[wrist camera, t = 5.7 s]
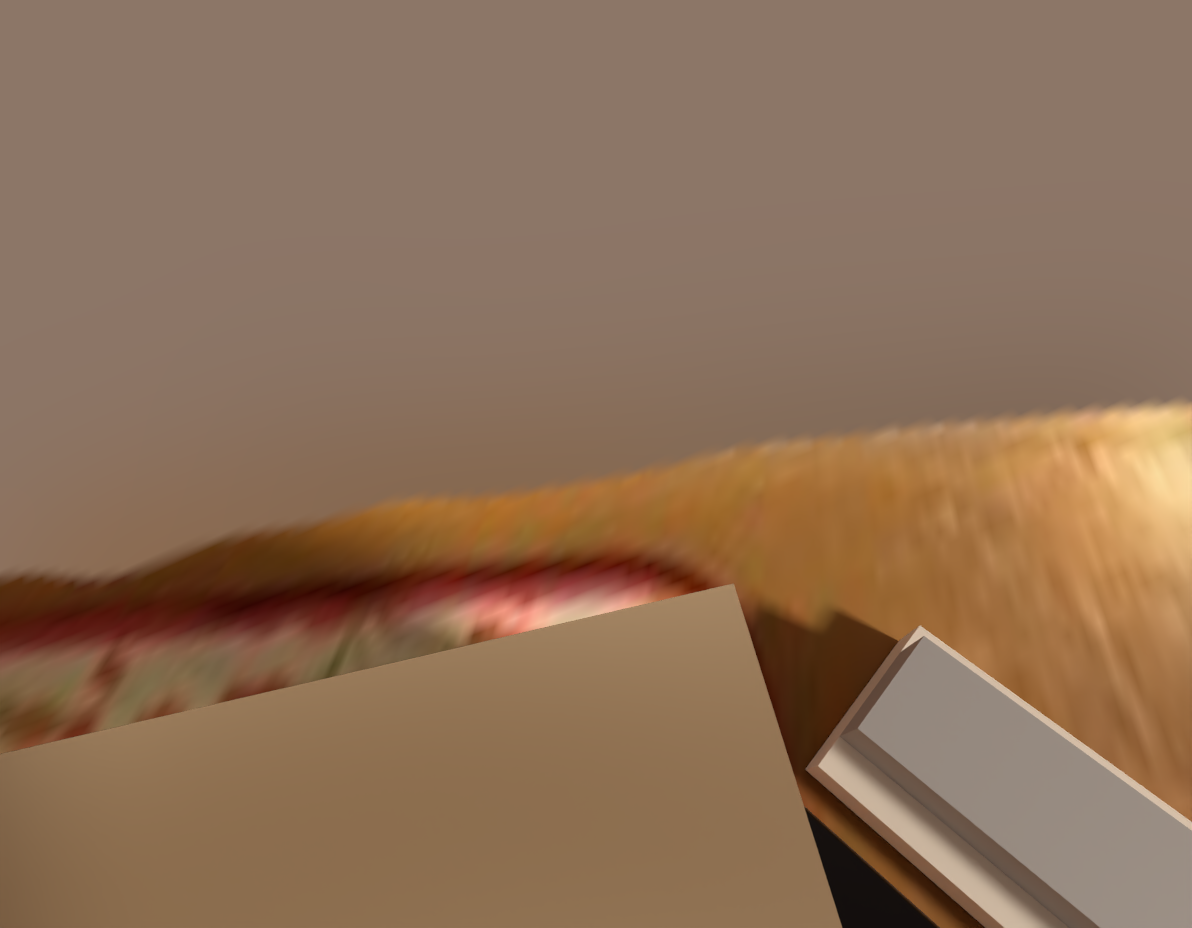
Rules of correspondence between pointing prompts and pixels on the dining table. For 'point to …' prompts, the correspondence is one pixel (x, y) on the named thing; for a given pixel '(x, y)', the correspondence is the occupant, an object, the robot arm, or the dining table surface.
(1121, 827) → the ridge
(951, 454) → the dining table surface
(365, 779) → the post
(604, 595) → the dining table surface
